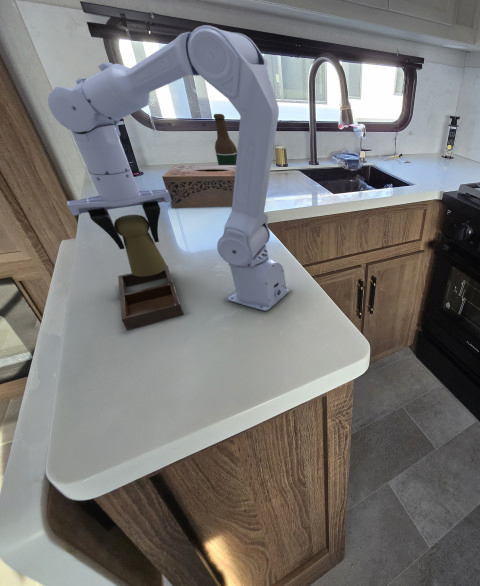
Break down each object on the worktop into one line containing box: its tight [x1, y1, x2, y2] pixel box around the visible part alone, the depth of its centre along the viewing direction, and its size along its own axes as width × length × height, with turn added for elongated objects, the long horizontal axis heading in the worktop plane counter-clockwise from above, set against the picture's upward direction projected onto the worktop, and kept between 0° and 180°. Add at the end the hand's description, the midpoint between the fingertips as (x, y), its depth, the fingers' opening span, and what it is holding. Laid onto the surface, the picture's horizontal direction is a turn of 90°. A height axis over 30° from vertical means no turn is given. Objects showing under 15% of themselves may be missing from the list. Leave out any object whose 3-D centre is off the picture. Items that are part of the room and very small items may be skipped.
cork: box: [113, 214, 168, 277], centre depth 64 cm, size 6×6×11 cm
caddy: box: [117, 265, 184, 331], centre depth 65 cm, size 17×9×2 cm, turn 36°
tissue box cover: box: [161, 164, 236, 209], centre depth 113 cm, size 26×14×10 cm, turn 104°
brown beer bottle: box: [213, 113, 237, 165], centre depth 127 cm, size 8×8×24 cm
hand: (139, 243), depth 64 cm, fingers closed on cork, 5 cm apart
